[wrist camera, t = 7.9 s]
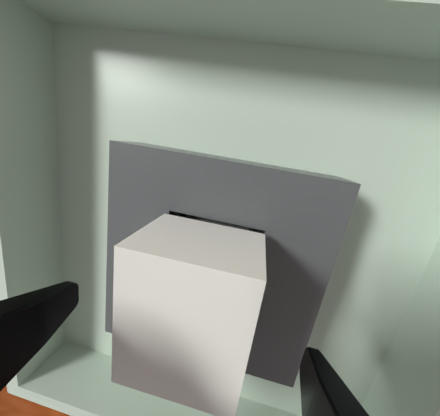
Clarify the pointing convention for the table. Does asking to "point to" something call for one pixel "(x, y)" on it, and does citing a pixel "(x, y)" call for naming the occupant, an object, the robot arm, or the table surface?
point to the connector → (187, 310)
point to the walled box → (230, 181)
